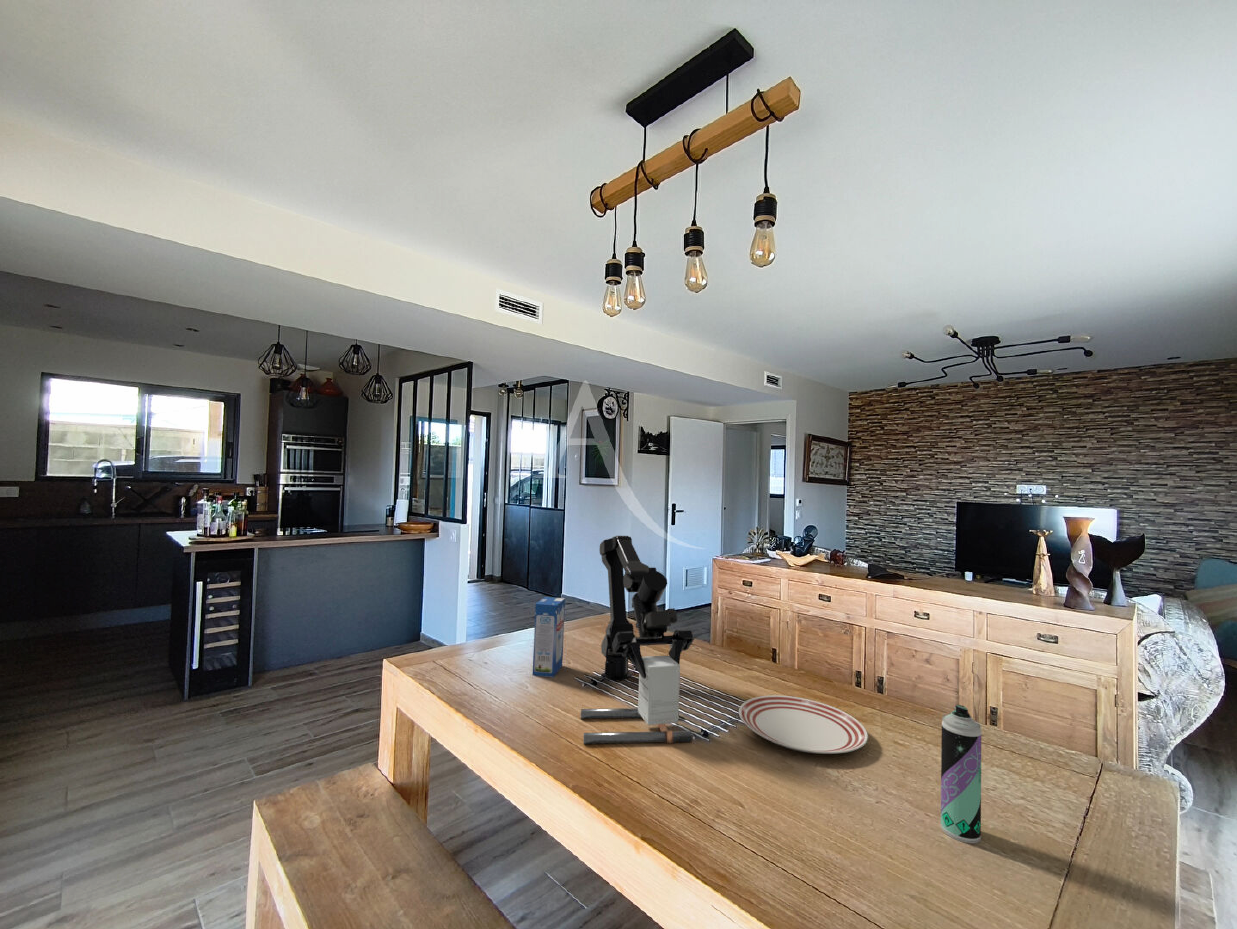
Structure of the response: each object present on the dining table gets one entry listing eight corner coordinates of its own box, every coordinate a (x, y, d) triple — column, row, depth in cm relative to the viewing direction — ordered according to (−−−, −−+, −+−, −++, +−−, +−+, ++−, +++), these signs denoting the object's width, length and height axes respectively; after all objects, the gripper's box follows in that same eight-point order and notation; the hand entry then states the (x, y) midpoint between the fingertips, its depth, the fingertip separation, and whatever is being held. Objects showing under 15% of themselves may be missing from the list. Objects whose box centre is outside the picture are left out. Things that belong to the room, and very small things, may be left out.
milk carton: (542, 663, 159) (545, 596, 160) (562, 665, 158) (565, 598, 159) (532, 675, 149) (535, 603, 150) (553, 677, 148) (556, 605, 149)
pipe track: (583, 747, 110) (584, 734, 110) (580, 717, 124) (581, 705, 124) (692, 745, 112) (692, 732, 112) (676, 715, 127) (676, 704, 127)
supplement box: (667, 709, 123) (669, 654, 124) (679, 723, 116) (681, 665, 117) (636, 712, 121) (639, 655, 122) (647, 726, 114) (649, 666, 115)
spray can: (932, 821, 88) (934, 699, 89) (963, 821, 89) (964, 699, 90) (956, 843, 83) (957, 713, 84) (989, 843, 83) (990, 713, 84)
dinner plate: (884, 735, 120) (885, 720, 120) (839, 781, 100) (839, 763, 100) (772, 699, 139) (772, 686, 139) (715, 732, 119) (715, 716, 119)
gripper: (617, 596, 121) (629, 661, 110) (692, 595, 126) (711, 657, 115) (607, 622, 128) (617, 685, 117) (678, 619, 133) (695, 680, 122)
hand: (661, 676), depth 118 cm, fingers closed on supplement box, 7 cm apart
